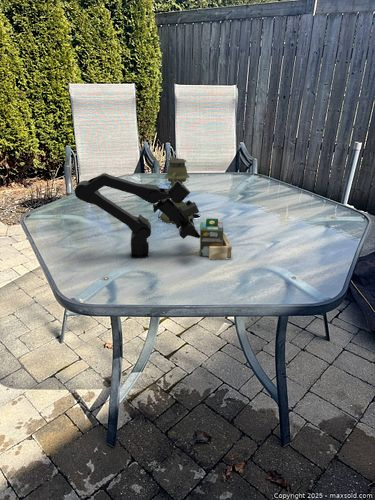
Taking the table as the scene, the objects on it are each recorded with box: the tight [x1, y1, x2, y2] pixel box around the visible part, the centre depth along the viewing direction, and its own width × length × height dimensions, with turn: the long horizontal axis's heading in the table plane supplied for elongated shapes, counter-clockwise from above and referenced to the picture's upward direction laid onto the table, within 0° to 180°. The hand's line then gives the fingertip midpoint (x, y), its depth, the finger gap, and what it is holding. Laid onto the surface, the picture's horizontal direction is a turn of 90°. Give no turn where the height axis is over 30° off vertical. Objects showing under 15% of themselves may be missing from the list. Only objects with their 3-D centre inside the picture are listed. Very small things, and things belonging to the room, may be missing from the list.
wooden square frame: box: [208, 233, 233, 260], centre depth 152 cm, size 8×14×5 cm, turn 6°
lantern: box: [157, 157, 195, 225], centre depth 186 cm, size 21×18×30 cm
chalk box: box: [199, 217, 224, 257], centre depth 150 cm, size 9×9×15 cm
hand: (199, 237), depth 150 cm, fingers closed
